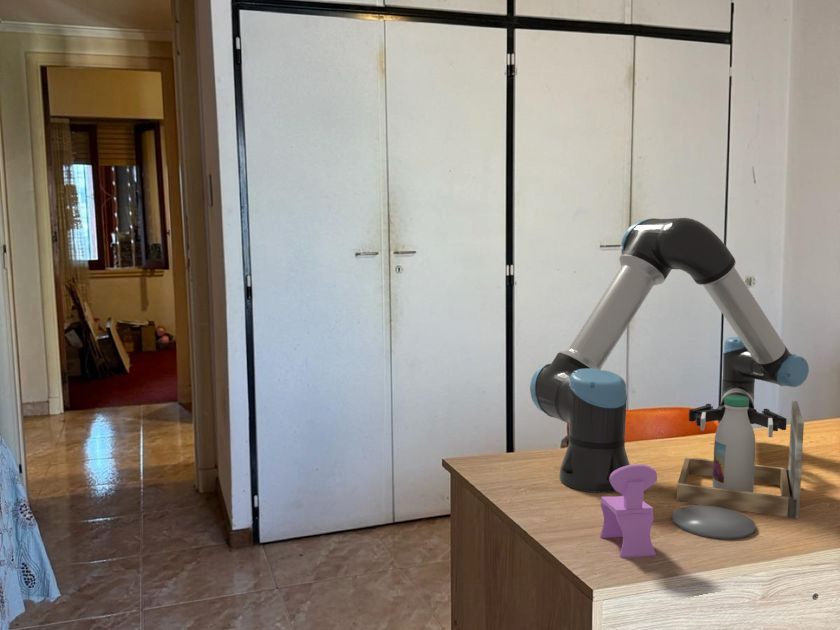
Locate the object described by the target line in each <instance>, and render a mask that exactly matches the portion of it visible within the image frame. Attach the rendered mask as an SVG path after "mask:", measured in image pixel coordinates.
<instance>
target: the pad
mask: <svg viewBox="0 0 840 630" xmlns="http://www.w3.org/2000/svg"><path fill="white" fill-rule="evenodd" d="M671 520H672V522H673V523H674V525H675V526H677V527H678V528H680V529H681V530H684V531H685V532H688V533H691V534H693V535H697V536H700V537H705V538H711V539H716V540H717V539H718V540H719V539H720V540H737V539H744V538H747V537H750V536H752V535H753V534H754V533H755V531H756V523H755V521H754V520H753V519H752V518H751V517H750V516H747V515H745V514H744V513H741V512H739V511H738V510H734V509H727V508H721V507H715V506H706V505H697V504H692V505H685V506H681V507H679V508H677V509H675V510H674V511H673V512H672V519H671Z"/></svg>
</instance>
